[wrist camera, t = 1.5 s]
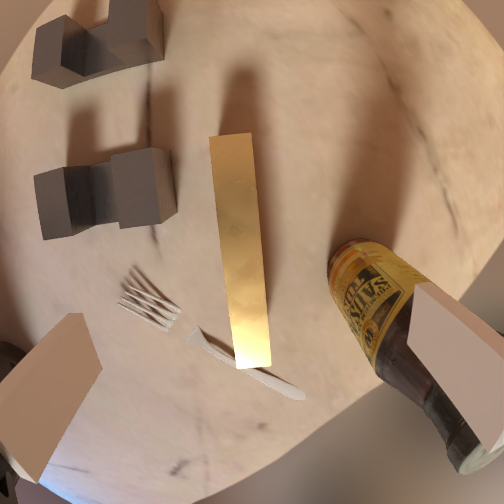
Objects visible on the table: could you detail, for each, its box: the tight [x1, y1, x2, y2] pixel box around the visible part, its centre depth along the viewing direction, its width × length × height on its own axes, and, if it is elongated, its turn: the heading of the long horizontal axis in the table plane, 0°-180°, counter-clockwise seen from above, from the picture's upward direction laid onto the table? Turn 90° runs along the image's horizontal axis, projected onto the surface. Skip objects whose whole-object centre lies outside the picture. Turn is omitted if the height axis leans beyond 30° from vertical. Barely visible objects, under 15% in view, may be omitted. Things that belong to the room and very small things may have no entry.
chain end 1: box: [31, 0, 164, 89], centre depth 17 cm, size 10×5×5 cm, turn 95°
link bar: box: [209, 133, 271, 369], centre depth 22 cm, size 2×16×6 cm, turn 5°
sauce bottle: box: [327, 239, 504, 474], centre depth 16 cm, size 7×6×20 cm
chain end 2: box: [34, 147, 177, 240], centre depth 21 cm, size 10×5×5 cm, turn 95°
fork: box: [117, 285, 306, 400], centre depth 27 cm, size 3×24×2 cm, turn 52°
